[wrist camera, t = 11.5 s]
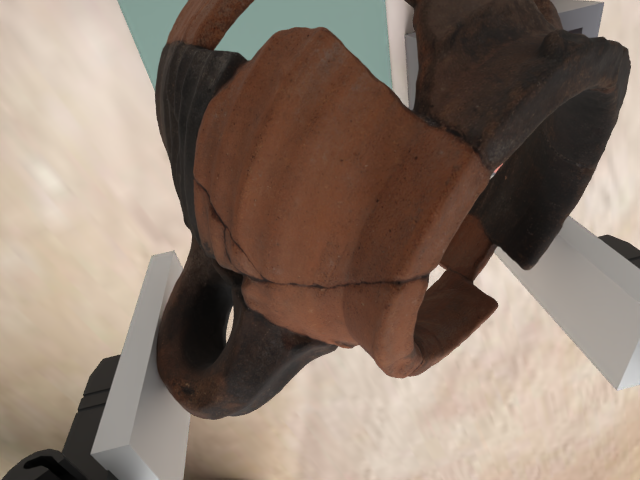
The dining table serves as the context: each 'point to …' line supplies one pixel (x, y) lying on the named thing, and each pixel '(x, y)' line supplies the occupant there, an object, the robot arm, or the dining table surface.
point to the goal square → (270, 28)
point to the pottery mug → (365, 186)
